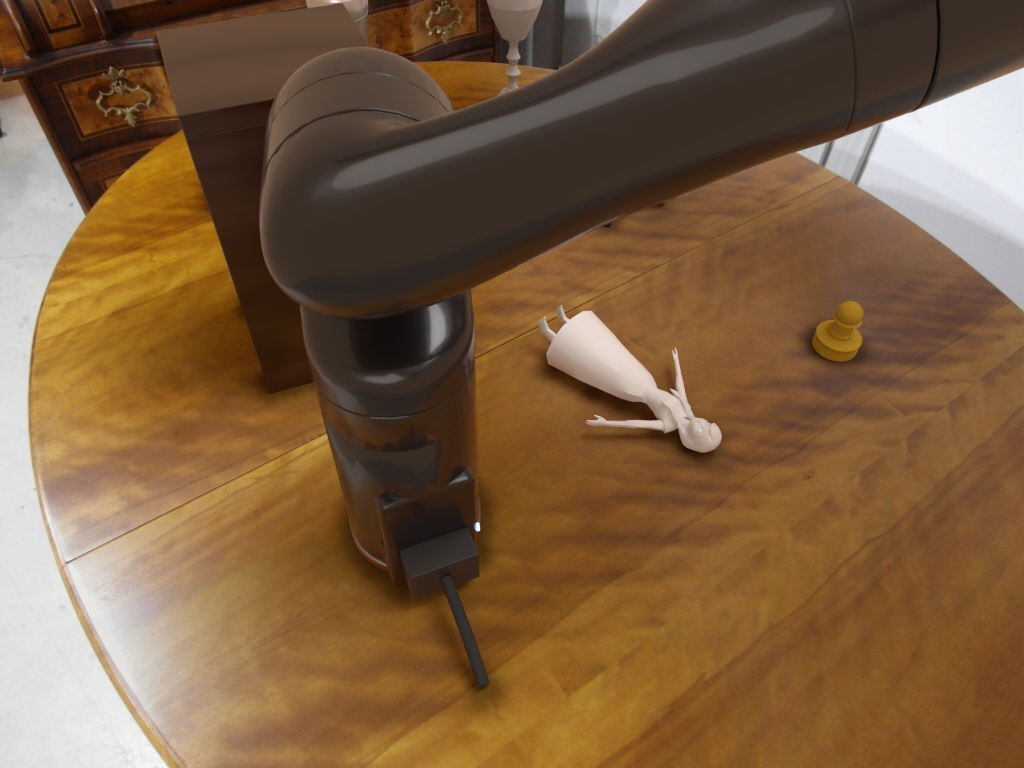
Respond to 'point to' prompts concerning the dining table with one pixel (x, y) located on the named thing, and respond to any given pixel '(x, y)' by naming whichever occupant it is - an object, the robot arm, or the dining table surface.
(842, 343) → the chess piece
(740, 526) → the dining table surface
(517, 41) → the chalice
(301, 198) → the robot arm
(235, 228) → the tall wooden pillar
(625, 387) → the woman figurine
